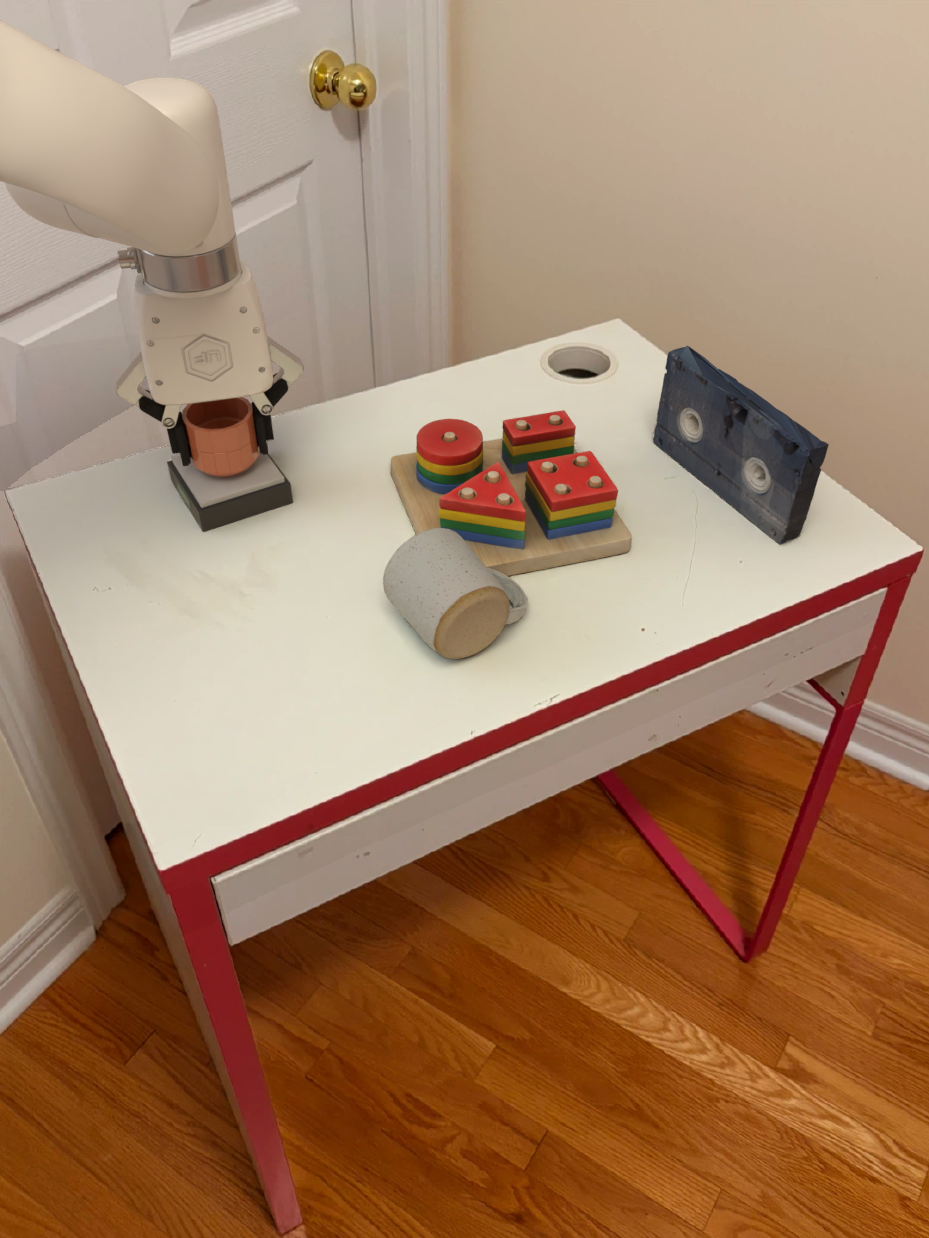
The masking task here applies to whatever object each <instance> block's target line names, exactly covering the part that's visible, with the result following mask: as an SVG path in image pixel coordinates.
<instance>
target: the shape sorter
mask: <svg viewBox="0 0 929 1238" xmlns="http://www.w3.org/2000/svg"><path fill="white" fill-rule="evenodd" d="M501 429H502V436H501V437H502V438H496V439H489V440H484V437H483V433H482V430H481V429H480V428H479V427H477V425H475V424H474V423H472V422H469V421H467V420H464V419H459V418H442V419H437V420H433V421H431V422H428V423H426V424H424V425H423V426H422V427H421V428H420V429H418V431H417V434H416V447H415V448H416V449H415V450H416V451H415V452H410V453H404V454H397V455H394V456H392V457H391V458H390V463H389V465H390V466H389V467H390V469H389V471H390V476H391V478H392V481H393V483H394V485H395V488H396V490H397V492H398V496H399V497H400V500H401V502H402V504H403V508H404V509H405V512H406V514H407V516H408V519H409V522H410V523H411V526H412V528H413V531H414V534H415V535H417V534H419V533H421V532H423V531H425V530H429V529H433V528H445V529H450V530H452V531H455V532H456V533H458V534H459V535H460V536H461V537H462V538H463V539H464V540H465V542H466V543H467V544H468V545H469V546H470V548H471V549H472V550H473V551H474V553H475V554H476V555H477V556H478V558H479V559H480V560H481V561H482V563H483V564H484V565H485V566H486V567H487V568H491V569H494V570H496V571H499V572H501V573H503V574H505V575H506V576H508V577H510V576H515V575H519V574H520V575H521V574H527V573H530V572H536V571H540V570H546V569H551V568H555V567H556V568H557V567H560V566H566V565H567V566H568V565H571V564H572V565H573V564H577V563H582V562H587V561H592V560H597V559H603V558H607V557H613V556H618V555H622V554H626V553H628V552H630V550H631V546H632V538H633V537H632V534H631V532H630V530H629V529H628V527H627V525H625V523H624V521H623V519H622V517H621V516H620V515H619V513H618V512H617V510H616V509H615V508H616V506H617V499H618V496H619V495H618V494H619V489H618V487H617V486H616V484H615V483H614V482H613V479H611V477H610V475H609V474H608V473H607V471H606V470H605V468H604V467H603V466H602V464H601V463H600V462H599V460H598V458H597V457H596V456H595V454H594V453H593V451H591V450H587V451H580V452H578V451H577V449H576V448H575V440H576V439H575V438H576V437H575V436H576V429H577V427H576V425H575V423H574V422H573V420H572V419H571V418H570V416H569V414H568V413H567V411H565V409H562V410H556V411H550V412H544V413H540V414H539V413H538V414H532V415H527V416H521V417H514V418H508V419H503V420H502V428H501Z"/></svg>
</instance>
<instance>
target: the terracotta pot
mask: <svg viewBox="0 0 929 1238" xmlns="http://www.w3.org/2000/svg"><path fill="white" fill-rule="evenodd" d="M181 412H182V421H183V426H184V430H185V435H186V440H187V445H188V449H189V454H190V459H191V462H192V463H193V465H194V466H195V467H196V468H197V469H199V470H201V471H202V472H204V473H206V474H209V475H212V476H231V475H235V474H239V473H241V472H243V471H245V470H247V469H248V468H249V467H250V466H251V465H252V464H253V463H254V462H255V461H256V459H257V458H258V456H259V445H258V439H257V432H256V426H255V419H254V413H253V406H252V403H251V402H250V401H249V399H248V398H246V397H239V398H231V399H224V400H217V401H209V402H201V403H193V404H186V405H185V407H184V408H183V409H182V411H181Z"/></svg>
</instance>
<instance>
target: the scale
mask: <svg viewBox="0 0 929 1238" xmlns="http://www.w3.org/2000/svg"><path fill="white" fill-rule="evenodd" d="M190 460H191V459H190ZM166 465H167V468H168V469H167V470H168V473H169V477H170V481H171V483H172V484H173V486H174V487H175V489H176V491H177V492H178V494H179V496H180V498H181V499H182V500H183V502H184V504H185V506H186V507H187V508H188V510H189V512H190V513H191V515H192V517H193V518H194V520H195V521H196V523H197V525H198V526H199V528H200V529H201V532H203V533H204V532H207V531H210V530H214V529H216V528H219V527H222V526H225V525H228V524H231V523H235V522H238V521H241V520H244V519H247V518H250V517H254V516H256V515H259V514H263V513H265V512H268V511H271V510H274V509H278V508H281V507H285V506H287V505H290V504H293V503H294V499H293V492H292V491H293V489H292V483H291V482H290V481H289V479H288V478H287V476H286V475H285V473H283V470H281V469H280V467H279V466H278V464H277V463H276V462H275V460H274V459H273V457H272V456H271V455H270V453H269V454H266V455H263V453H262V454H260V450H259V456H258V458H257V459H256V461H255V462H254V463H253V464H252V465H251V466H250V467H249V468H248V469H247V470H245V471H243V472H241V473H239V474H235V475H231V476H212V475H209V474H206V473H204V472H202V471H201V470H199V469H197V468H196V467H195V466H194V465H193V463H192V462H191V464H189V466H183V464H182V459H181V455H180V454H178V455H175V456H171V460H168V461H166Z"/></svg>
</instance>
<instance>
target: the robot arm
mask: <svg viewBox="0 0 929 1238" xmlns="http://www.w3.org/2000/svg"><path fill="white" fill-rule="evenodd" d="M227 171H228V170H227V165H226V157H225V151H224V143H223V136H222V130H221V123H220V116H219V113H218V107H217V103H216V101H215V98H214V97H213V95H212V93H210V91H209V90H208V89H207V88H206V87H205V86H204V85H201V84H200V83H198V82H196V81H194V80H191V79H185V78H180V77H170V76H169V77H161V76H159V77H151V78H145V79H140V80H135V81H133V82H130V83H128V84H125V85H122V84H120V83H118V82H117V81H115V80H114V79H111V78H110V77H108V76H106V75H104V74H103V73H100V72H99V71H97V70H94V69H93V68H91V67H89V66H88V65H85V64H83V63H82V62H79V61H77V60H76V59H73V58H72V57H69V56H67V55H66V54H63V53H61V52H60V51H58V50H56V49H54V48H52V47H50V46H48V45H46V44H44V43H42V42H41V41H39V40H37V39H35V38H33V37H31V36H30V35H28V34H27V33H25V32H24V31H21V30H20V29H18V28H16V27H14V26H13V25H10V24H8V23H6V22H5V21H2V20H0V182H2V183H4V184H5V187H6V190H7V192H8V194H9V195H10V197H11V199H12V200H13V202H15V204H16V205H17V206H18V207H19V208H20V209H21V210H22V211H23V212H24V213H26V214H27V215H28V216H30V217H32V218H34V219H35V220H36V221H39V222H41V223H43V224H45V225H47V226H50V227H54V228H56V229H59V230H64V231H68V232H72V233H76V234H80V235H82V236H83V235H84V236H87V237H90V238H95V239H101V240H103V241H104V240H105V241H108V242H112V243H116V244H120V245H123V246H124V245H125V246H128V247H126V249H121V250H120V249H119V250H117V257H118V263H119V266H120V269H122V270H123V269H130V270H136V272H137V275H136V277H135V279H134V281H135V282H134V311H135V321H136V322H135V323H136V328H137V335H138V340H139V341H138V342H139V347H140V352H139V353H138V355H137V356H136V357H135V358H134V360H132V362H131V363H130V365H129V366H128V367H127V368H126V369H125V371H124V372H122V374H121V375H120V377H119V378H118V380H116V382H115V391H116V393H115V394H116V395H117V396H118V397H119V398H121V399H123V400H124V401H126V402H128V403H130V404H131V405H133V406H137V407H138V408H139V409H140V411H142V413H145V415H149V417H151V418H153V419H155V420H157V421H158V422H160V423H161V426H162V427H163V428H165V429H166V432H167V436H168V440H169V445H170V450H171V454H172V455H174V454H179V455H181V459H182V464H183V466H189V464H191V460H190V454H189V449H188V445H187V440H186V435H185V430H184V426H183V421H182V411H181V407H182V406H186V405H187V404H193V403H201V402H209V401H217V400H224V399H231V398H239V397H244V398H246V397H249V398H250V399H251V402H250V403H251V404H252V406H253V413H254V419H255V426H256V432H257V439H258V445H259V450H260V454H262V453H263V455H266V454H269V455H270V453H269V447H268V441H273V440H275V436H274V430H273V429H274V428H273V422H272V414H273V413H274V411H275V406H276V405H277V404H278V403H279V402H280V400H282V398H284V396H285V395H286V394H287V393H288V391H289V388H290V387H291V386H292V385H293V384H294V383H295V382H296V381H297V380H298V379H299V378H300V376H301V375H302V374H303V372H304V371H305V368H304V363H303V361H302V359H301V358H300V357H299V356H297V355H296V354H294V353H293V352H291V351H290V350H289V349H287V348H286V347H284V346H283V345H282V344H280V343H279V342H277V341H276V340H274V339H272V338H271V337H270V336H268V332H267V326H266V322H265V316H264V312H263V307H262V303H261V299H260V295H259V292H258V288H257V285H256V282H255V280H254V277H253V274H252V272H251V271H250V268H249V267H248V265H247V264H246V263H245V262H244V261H242V260H240V254H239V246H238V240H237V233H236V228H235V220H234V214H233V208H232V205H233V204H232V198H231V191H230V185H229V178H228V172H227ZM273 363H274V364H275V365H277V366H278V367H280V368H279V370H278V371H277V372H276V373H274V368H273ZM145 379H146V382H147V386H148V389H149V390H148V389H143V387H142V386H140V385H141V384H142V383H143V381H144V380H145Z"/></svg>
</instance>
